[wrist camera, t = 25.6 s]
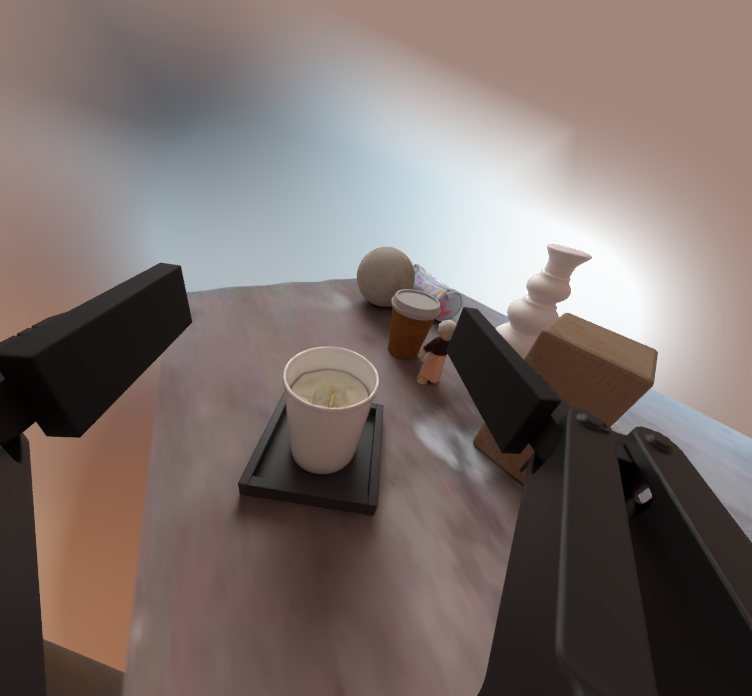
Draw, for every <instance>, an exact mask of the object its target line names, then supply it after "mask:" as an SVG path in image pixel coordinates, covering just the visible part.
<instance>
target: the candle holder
mask: <svg viewBox="0 0 752 696" xmlns="http://www.w3.org/2000/svg"><path fill="white" fill-rule="evenodd" d="M283 384H284V389H285V400H286V411H287V422H288V433H289V443H290V450H291V454H292V456H293V459H294V460H295V462H296V463H297V464H298V465H299V466H300V467H301V468H303V469H304V470H306V471H308V472H311V473H315V474H330V473H334V472H337V471H339V470H341V469H342V468H344V467H345V466H346V465H347V464H348V463H349V462H350V461H351V460H352V458H353V456H354V454H355V452H356V449H357V447H358V444H359V441H360V438H361V435H362V432H363V429H364V426H365V423H366V420H367V417H368V414H369V411H370V408H371V405H372V402H373V399H374V396H375V394H376V392H377V390H378V386H379V377H378V373H377V371H376V369H375V367H374V366H373V365H372V364H371V363H370V362H369V361H368V360H367V359H366V358H364V357H363V356H361V355H360V354H358V353H356V352H353V351H351V350H347V349H344V348H338V347H316V348H311V349H308V350H305V351H303V352H300V353H298V354H297V355H295V356H294V357H293V358H291V359H290V360H289V362H288V363H287V364H286V366H285V368H284V371H283Z"/></svg>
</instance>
